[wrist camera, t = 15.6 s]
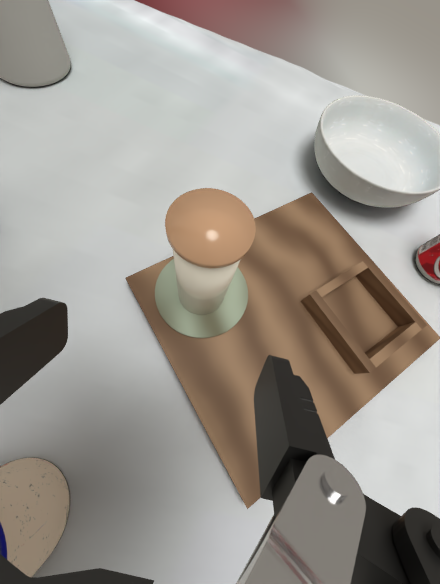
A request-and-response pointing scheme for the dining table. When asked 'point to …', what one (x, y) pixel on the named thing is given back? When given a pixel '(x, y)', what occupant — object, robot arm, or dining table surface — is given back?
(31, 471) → the teacup with lid
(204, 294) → the tan capped cream canister
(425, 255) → the soda can
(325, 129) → the serving bowl
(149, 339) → the dining table surface
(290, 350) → the walnut board
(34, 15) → the cylinder vase
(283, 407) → the robot arm
